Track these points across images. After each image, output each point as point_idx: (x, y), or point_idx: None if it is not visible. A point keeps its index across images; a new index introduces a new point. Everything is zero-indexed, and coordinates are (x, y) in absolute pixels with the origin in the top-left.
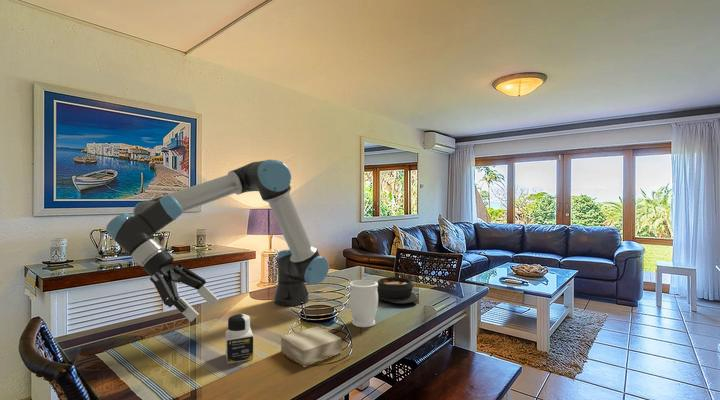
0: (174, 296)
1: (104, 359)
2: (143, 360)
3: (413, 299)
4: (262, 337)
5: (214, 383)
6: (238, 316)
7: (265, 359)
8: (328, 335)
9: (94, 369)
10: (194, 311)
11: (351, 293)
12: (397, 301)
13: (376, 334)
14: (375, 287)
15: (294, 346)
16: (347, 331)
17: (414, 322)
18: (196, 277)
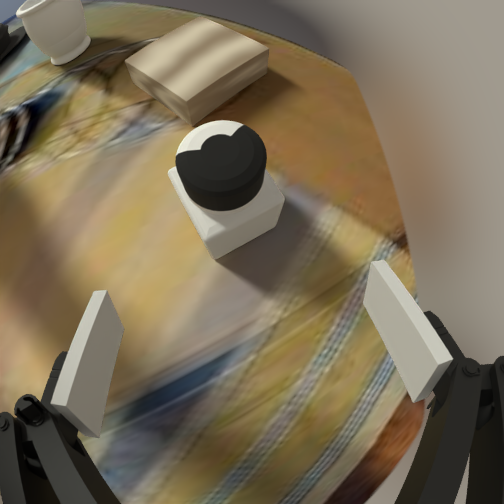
0: (477, 388)
1: None
2: (280, 468)
3: (20, 28)
4: (101, 205)
5: (367, 213)
6: (224, 149)
7: None
8: (183, 31)
9: None
10: (394, 276)
11: (51, 14)
12: (17, 39)
13: (124, 23)
14: None
15: (240, 67)
16: (99, 57)
17: (90, 8)
18: (25, 481)
